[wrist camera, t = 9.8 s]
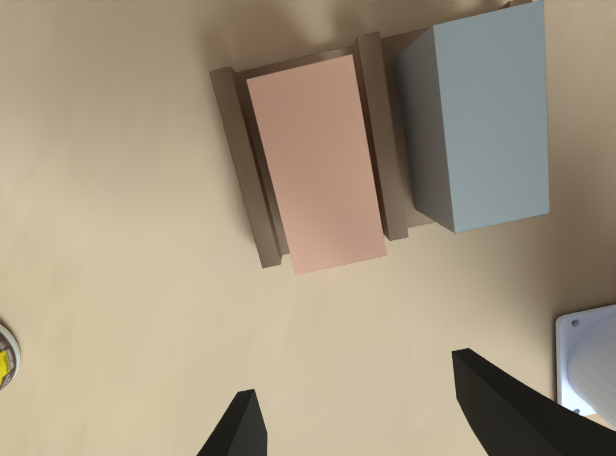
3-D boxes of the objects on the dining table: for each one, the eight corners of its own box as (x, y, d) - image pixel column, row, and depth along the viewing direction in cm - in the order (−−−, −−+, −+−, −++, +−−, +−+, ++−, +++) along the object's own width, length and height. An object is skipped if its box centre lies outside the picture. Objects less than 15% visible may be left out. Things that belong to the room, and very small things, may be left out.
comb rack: (505, 12, 17) (531, -4, 15) (515, 202, 19) (539, 209, 18) (219, 79, 17) (209, 71, 15) (266, 255, 20) (262, 268, 18)
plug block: (336, 78, 17) (352, 54, 12) (364, 225, 19) (386, 255, 14) (261, 96, 17) (246, 79, 12) (296, 241, 19) (295, 275, 14)
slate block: (472, 39, 17) (543, -1, 12) (484, 194, 19) (549, 213, 14) (394, 58, 17) (433, 25, 12) (414, 209, 19) (455, 233, 14)
